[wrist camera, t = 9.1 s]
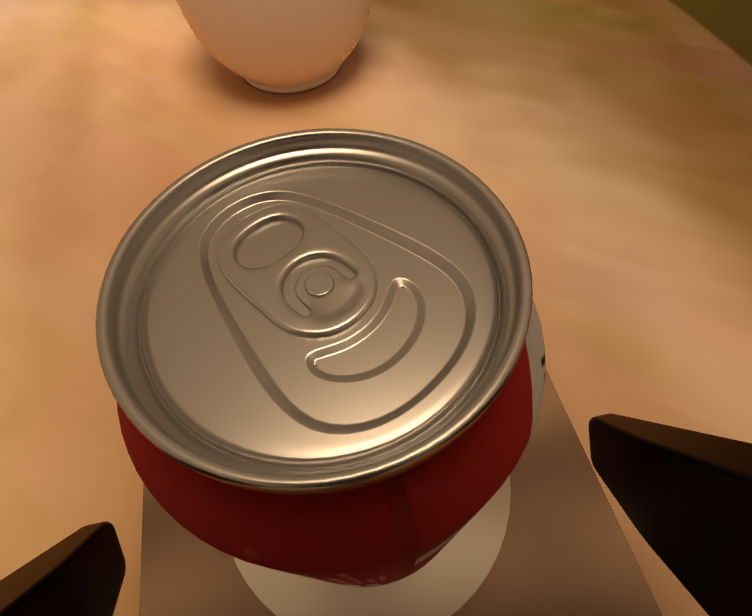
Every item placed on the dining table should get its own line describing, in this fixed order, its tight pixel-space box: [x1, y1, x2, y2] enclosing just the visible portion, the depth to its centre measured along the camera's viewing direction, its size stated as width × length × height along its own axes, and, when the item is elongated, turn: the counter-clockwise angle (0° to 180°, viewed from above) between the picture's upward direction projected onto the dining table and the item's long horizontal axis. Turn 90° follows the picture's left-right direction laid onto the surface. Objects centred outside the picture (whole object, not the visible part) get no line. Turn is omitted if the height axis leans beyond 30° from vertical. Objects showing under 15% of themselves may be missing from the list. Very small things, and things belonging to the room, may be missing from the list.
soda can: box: [96, 129, 545, 587], centre depth 11 cm, size 7×7×12 cm
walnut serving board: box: [139, 369, 662, 616], centre depth 17 cm, size 16×16×2 cm
